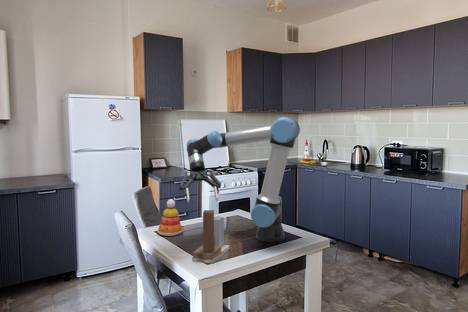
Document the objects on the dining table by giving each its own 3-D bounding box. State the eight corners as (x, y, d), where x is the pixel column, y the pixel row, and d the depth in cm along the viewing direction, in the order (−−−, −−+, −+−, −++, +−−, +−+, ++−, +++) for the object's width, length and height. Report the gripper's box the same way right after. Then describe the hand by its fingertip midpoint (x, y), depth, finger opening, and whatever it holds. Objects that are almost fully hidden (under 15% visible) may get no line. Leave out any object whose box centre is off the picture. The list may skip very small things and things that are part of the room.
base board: (229, 248, 172) (229, 240, 171) (213, 263, 152) (213, 254, 152) (210, 246, 175) (210, 238, 175) (192, 260, 155) (192, 252, 155)
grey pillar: (223, 245, 172) (223, 216, 171) (219, 248, 166) (218, 219, 165) (216, 244, 173) (215, 216, 172) (211, 248, 168) (211, 219, 167)
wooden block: (205, 245, 163) (205, 207, 162) (214, 245, 163) (214, 207, 162) (203, 252, 154) (202, 212, 153) (213, 252, 154) (213, 212, 153)
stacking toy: (152, 234, 195) (151, 199, 194) (171, 228, 207) (170, 195, 205) (169, 238, 187) (169, 202, 185) (188, 232, 198) (188, 198, 197)
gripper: (219, 168, 183) (227, 202, 170) (171, 170, 177) (175, 206, 163) (222, 159, 178) (230, 194, 165) (172, 161, 171) (176, 197, 158)
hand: (202, 200), depth 164 cm, fingers open, 13 cm apart
